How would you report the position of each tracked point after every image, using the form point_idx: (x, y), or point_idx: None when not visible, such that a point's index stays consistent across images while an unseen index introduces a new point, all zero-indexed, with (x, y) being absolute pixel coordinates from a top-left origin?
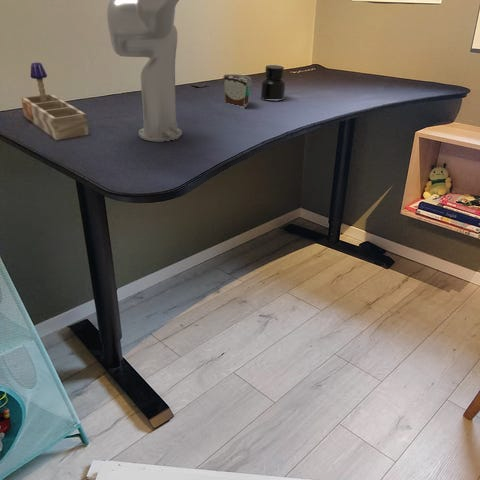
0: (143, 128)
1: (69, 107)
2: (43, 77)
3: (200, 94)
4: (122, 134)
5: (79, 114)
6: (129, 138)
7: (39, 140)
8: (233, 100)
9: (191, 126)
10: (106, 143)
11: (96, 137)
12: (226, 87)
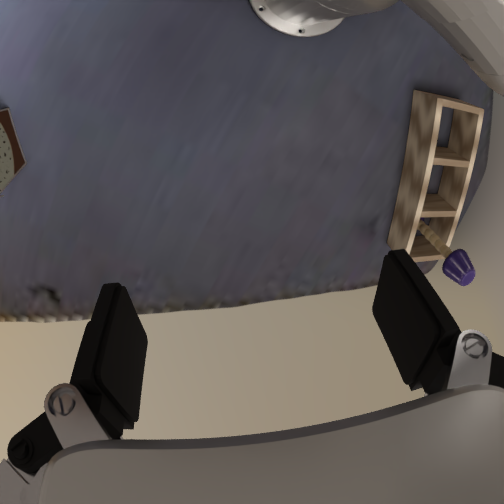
0: (323, 30)
1: (435, 159)
2: (456, 250)
3: (55, 247)
4: (364, 47)
5: (446, 103)
6: (365, 18)
7: None
8: (11, 142)
9: (192, 11)
10: (411, 26)
11: (410, 66)
12: (6, 176)
